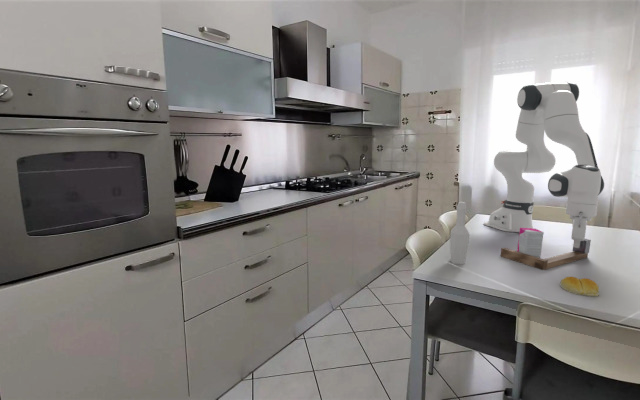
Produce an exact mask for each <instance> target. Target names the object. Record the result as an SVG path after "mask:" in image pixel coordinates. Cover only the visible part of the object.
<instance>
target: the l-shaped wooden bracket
mask: <svg viewBox="0 0 640 400" xmlns="http://www.w3.org/2000/svg"><path fill="white" fill-rule="evenodd" d="M591 241H592V240H591V239H588V238H585V239H584V241H581V242H580V247H579V248H574V247H573V245H574V243H573V244H572V251H570V252H565V253H563V254H559V255H555V256H551V257H547V258H544V259H543V258H541V257H540V258H538V257H534V256H531V255H528V254H524V253H521V252H517V250H513V249H510V248H508V247H507V248H506V247H503V248H501V250H500V257H503V258H505V259H509V260H511V261H515V262H517V263H520V264H524V265H527V266H530V267H534V268H537V269H539V270H541V271H545V270H548V269H551V268H555V267H558V266H562V265H565V264H568V263H569V264H570V263H572V262H576V261H580V260H584V259H588V256H589V255H588V254H589V253H590V247H591Z"/></svg>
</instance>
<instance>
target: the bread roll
mask: <svg viewBox="0 0 640 400" xmlns="http://www.w3.org/2000/svg"><path fill="white" fill-rule="evenodd" d="M559 285H560V287H561V288H562V289H563V290H565V291H566V292H569V293H571V294H574V295H575V294H576V295H580V296H585V297H593V298H594V297H598V296H599V295H600V288H599V285H598V284H597V283H596V282H595V281H594V280H592V279H589V278H586V277H585V278H577V277H575V276H567V277H564V278H563V279H561V281H560V284H559Z"/></svg>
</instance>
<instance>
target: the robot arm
mask: <svg viewBox="0 0 640 400" xmlns="http://www.w3.org/2000/svg"><path fill="white" fill-rule="evenodd" d="M579 96H580V89H579V86H578V85H577V83H575V82H571V81H564V82H561V81H560V82H559V81H550V82H549V81H548V82H545V83H544V82H543V83H536V84H533V83H532V84H527V85H524V86H523V87H522V88H520V90H519V92H518V94H517V98H516V100H517V101H516V102H517V105H518V107H519V108H520V109H521V110H520V112H519V116H518V120H517V125H516V131H515V139H516V140H517V141H518V142H519V143H521V144H523V145H525V146H526V148H525V149H505V150H501V151H499V152H497V154H496V155H495V156H494V157H493V158H494V159H493V166H494V168H495V169H496V171H498V172H499V173H501V175H502V176H503V177H504V179H505V181H506V184H507V186H506V187H507V190H506V191H507V194H506V199H505V200H503V201H502V200H501V204H503V205H502V206H501V207H499V208H498V209H496V210H494V211H492V212H491V213H490V214H489V218H488V220H486V221H484V222H483V225H484V226H488V227H490V228H493V229H497V230H500V231H503V232H509V233H510V232H514V233H515V232H516V233H519V232H520V228H534V226H533V211H534V204H535V203H534V194H535V193H534V192H535V186H534V184H533V183H532V182H530V181H528V180H526V179H524V178H523V174H544V173H549V172H551V171H552V170H553V169H554V167H555V165H556V157H555V155H554V153H553V152H552V151H551V150H550V149H548V147H547V146H546V144H545V140H544V138H545V135H546V137H547V138H548V139H550V140H551V141H553V142H555V143H557V144H559V145H562V146H565V147H567V148H569V149H570V150H571V151H573V153H574V155H575V158H576V162H577V164H576V165H573V167H572V168H570V169H567V170H566V171H561V172H558V173H557V172H556V173H554V174H553V175H551V176H550V178H549V179H548V183H547V189H548V191H549V193H550V194H551V195H552V196H553V197H557V198H565V199H566V198H567V201H566V208H565V214H566V215H568V216H569V219H570V220H572V221H571V222H572V223H571V224H572V230H571V238H570V239H571V240H573V244H574V245H573V244H572V248H573V247H574V248H579V247H580V242H581V241H584V239H586V232H587V231H586V230H587V224H588V222H591V221H592V218H596V217H597V215H598V214H597V213H598V208H599V200H598V196H600V194H601V193H602V192H603V190H604V189H605V181H604V178H603V176H602V173H601V169H600V168H599V166H598V163H597V159H596V155H595V154H596V153H595V150H594V147H593V143H592V141H591V137H590V136H589V134H588V133H587V132H586V131H585V130H584V129H583V127H582V124H581V121H580V116H579V109H578V104H577V101H578V100H579Z"/></svg>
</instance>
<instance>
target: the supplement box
mask: <svg viewBox="0 0 640 400" xmlns="http://www.w3.org/2000/svg"><path fill="white" fill-rule="evenodd" d="M518 233H519V235H518V242H517V249H516V251H517V252H521V253H524V254H528V255H531V256H534V257H538V258H541V255H542V249H543V239H544V233H545V232H544V231H541V230H539V229H537V228H534V227H533V228H520V232H518Z"/></svg>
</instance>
